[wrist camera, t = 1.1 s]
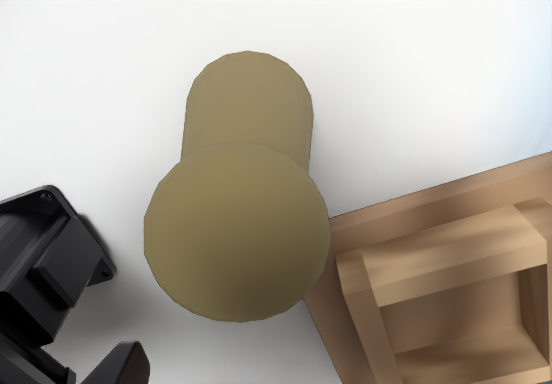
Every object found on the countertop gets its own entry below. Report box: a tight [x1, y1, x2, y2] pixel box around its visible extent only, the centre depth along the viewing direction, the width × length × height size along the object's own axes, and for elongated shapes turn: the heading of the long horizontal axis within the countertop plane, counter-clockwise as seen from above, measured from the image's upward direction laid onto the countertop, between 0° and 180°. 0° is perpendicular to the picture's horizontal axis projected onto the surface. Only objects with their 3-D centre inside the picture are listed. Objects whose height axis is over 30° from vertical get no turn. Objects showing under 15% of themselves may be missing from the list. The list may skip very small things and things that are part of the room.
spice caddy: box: [304, 152, 552, 384], centre depth 24 cm, size 16×14×4 cm
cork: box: [144, 51, 331, 323], centre depth 15 cm, size 6×6×11 cm
